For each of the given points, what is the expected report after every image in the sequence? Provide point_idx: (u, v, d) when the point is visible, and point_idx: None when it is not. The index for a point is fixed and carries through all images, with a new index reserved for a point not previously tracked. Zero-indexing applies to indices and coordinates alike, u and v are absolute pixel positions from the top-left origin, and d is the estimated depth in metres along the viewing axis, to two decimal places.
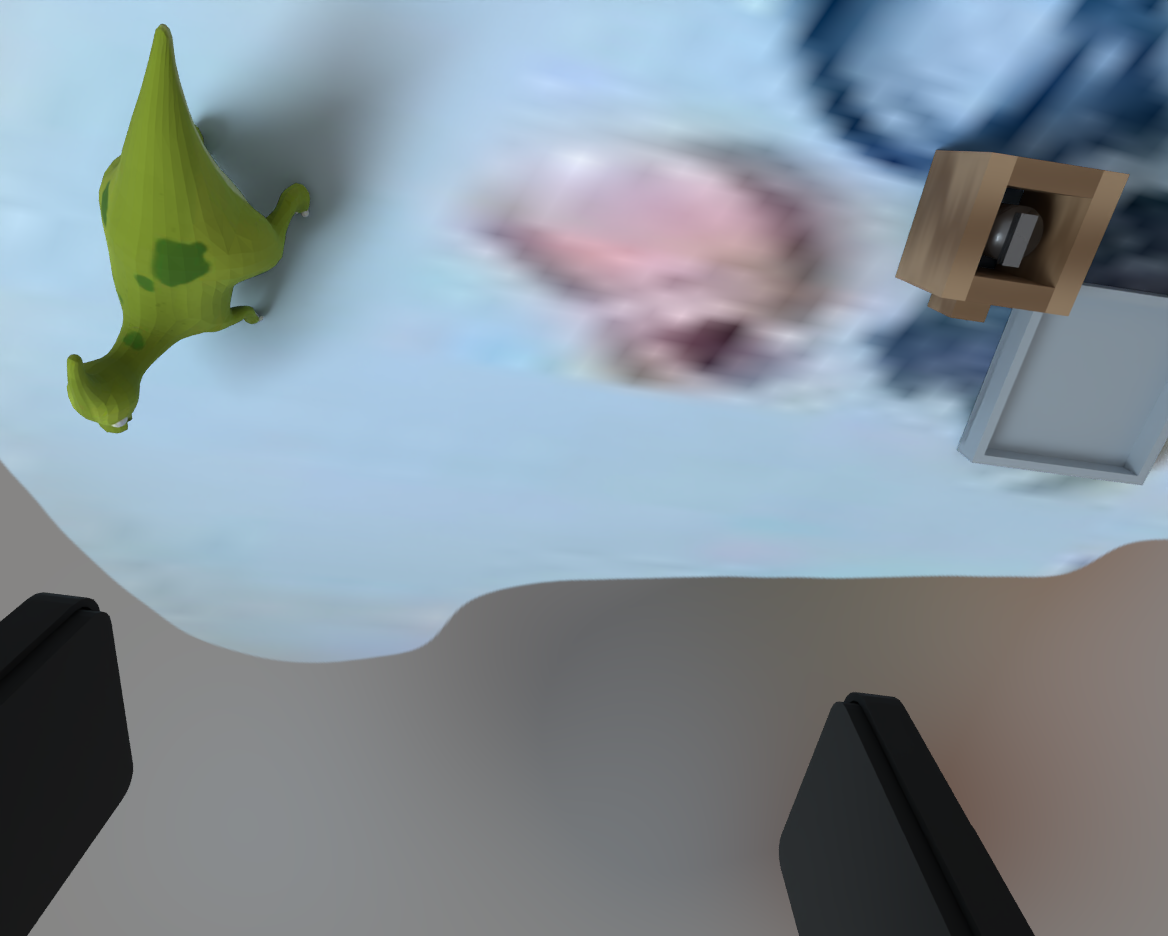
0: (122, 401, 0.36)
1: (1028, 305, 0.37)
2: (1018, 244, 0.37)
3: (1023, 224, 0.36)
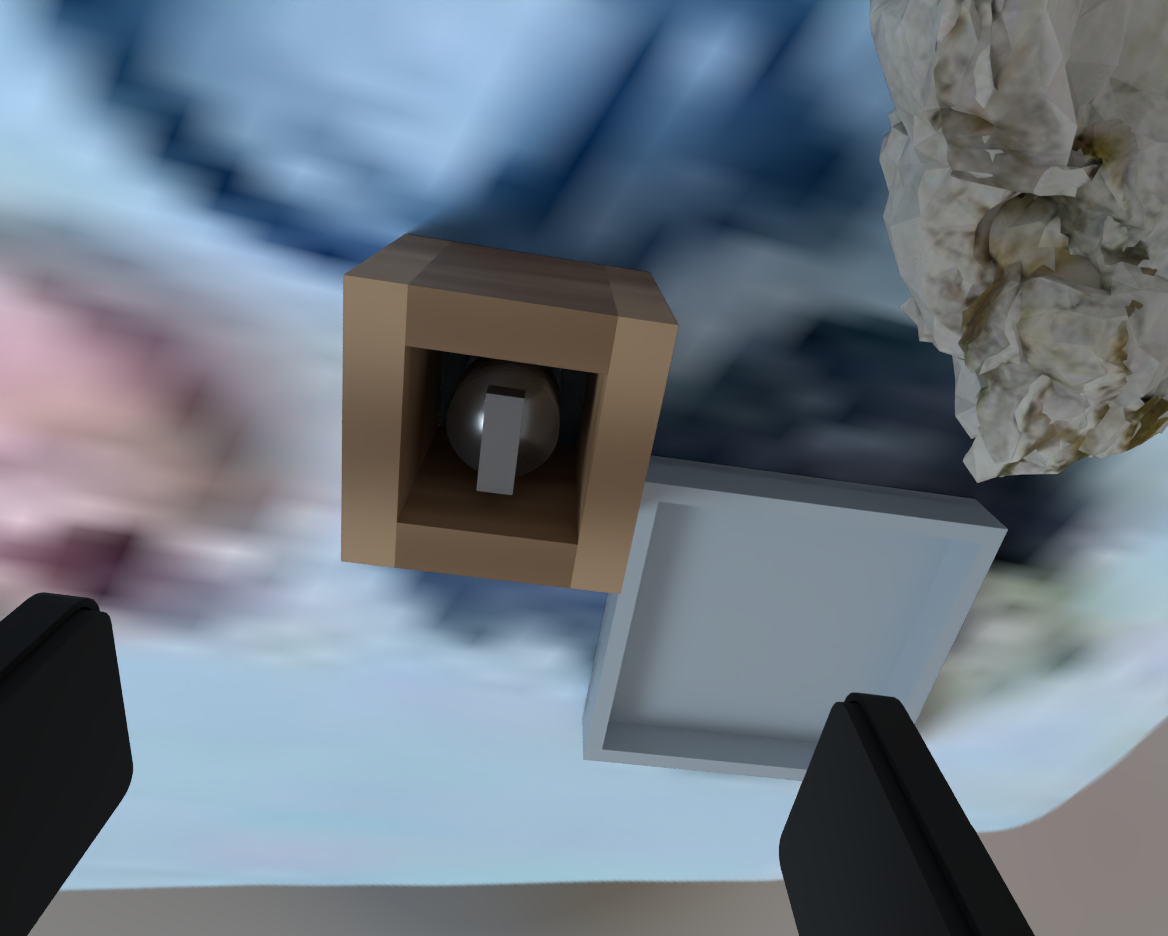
0: None
1: (531, 575, 0.18)
2: (497, 452, 0.17)
3: (497, 414, 0.17)
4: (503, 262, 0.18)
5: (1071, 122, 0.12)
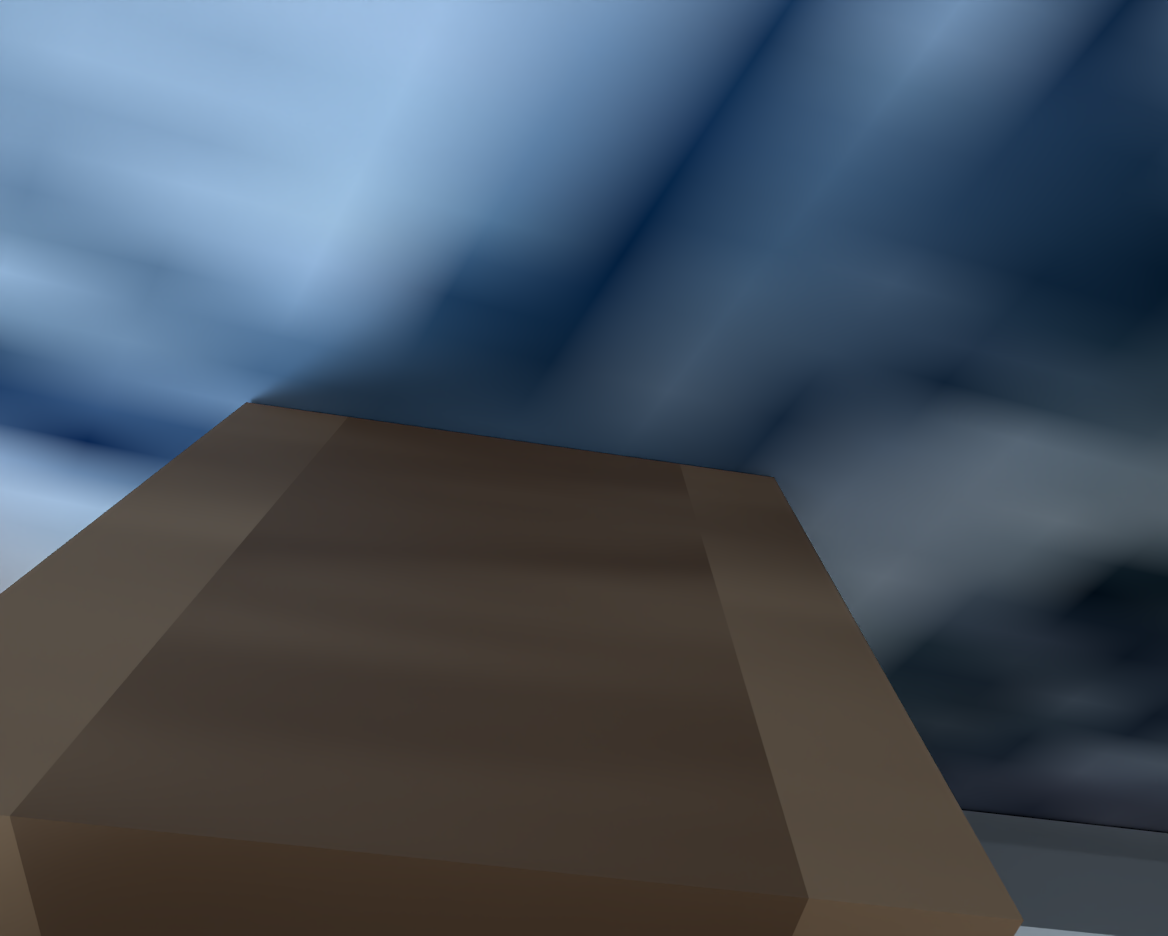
0: None
1: None
2: None
3: None
4: (448, 502, 0.08)
5: None
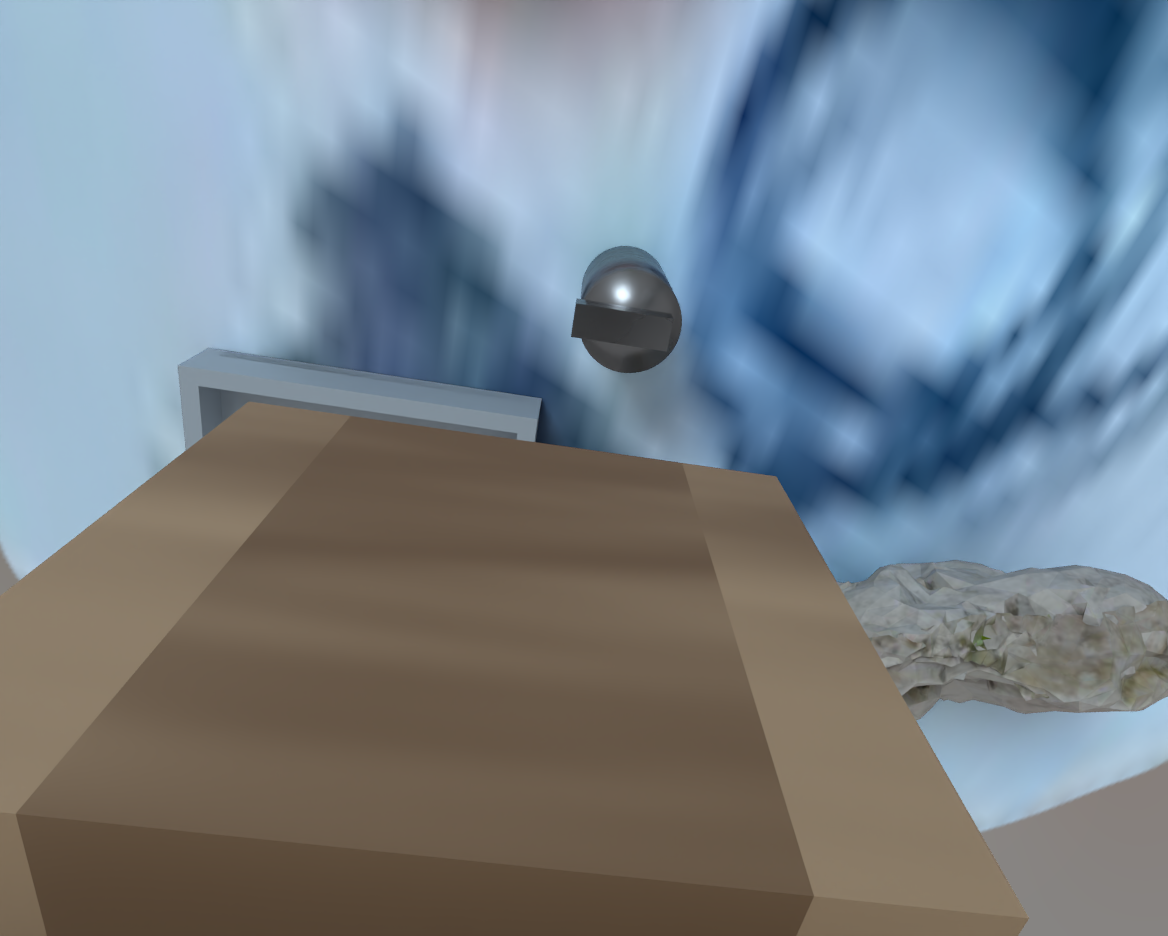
0: None
1: None
2: (615, 326, 0.19)
3: (652, 327, 0.19)
4: (451, 501, 0.08)
5: None
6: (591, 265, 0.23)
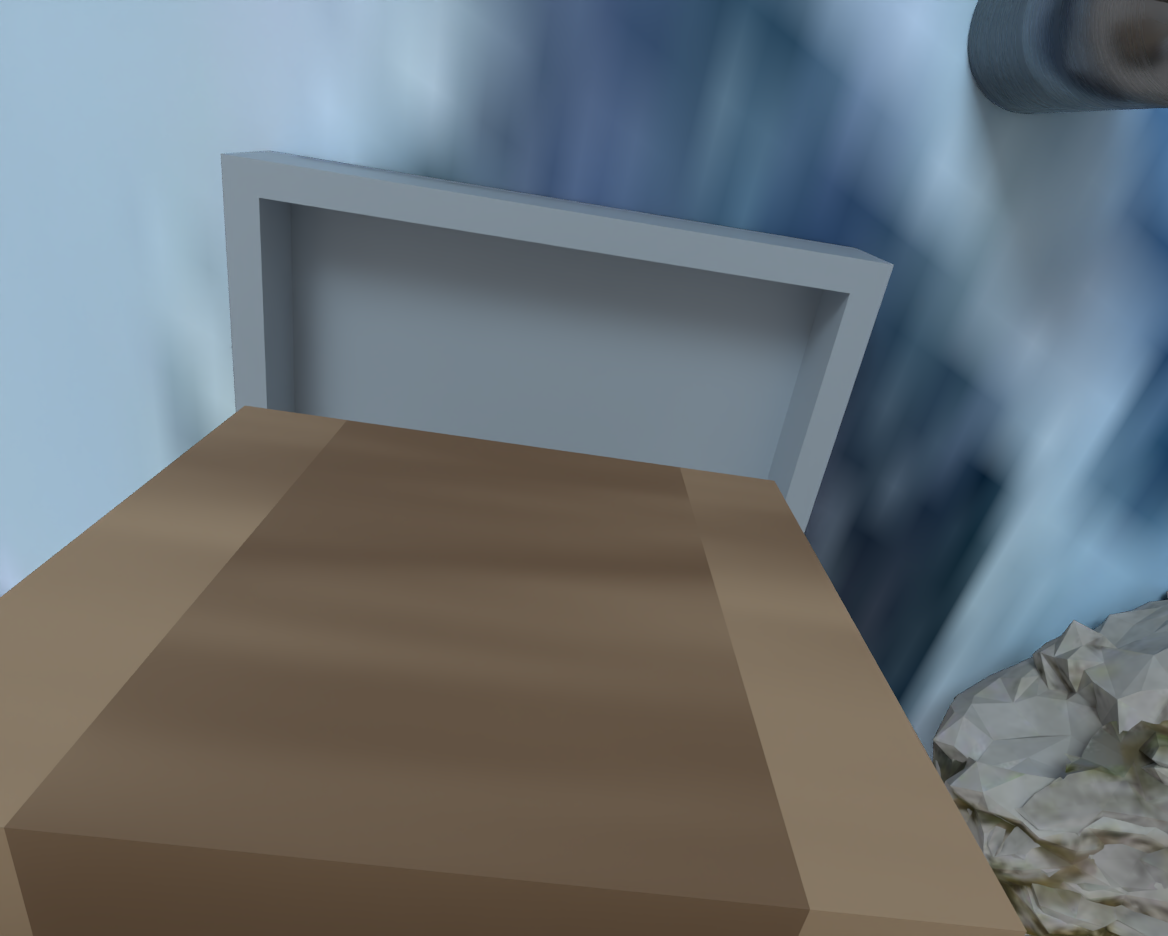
0: None
1: None
2: None
3: None
4: (447, 507, 0.08)
5: None
6: None
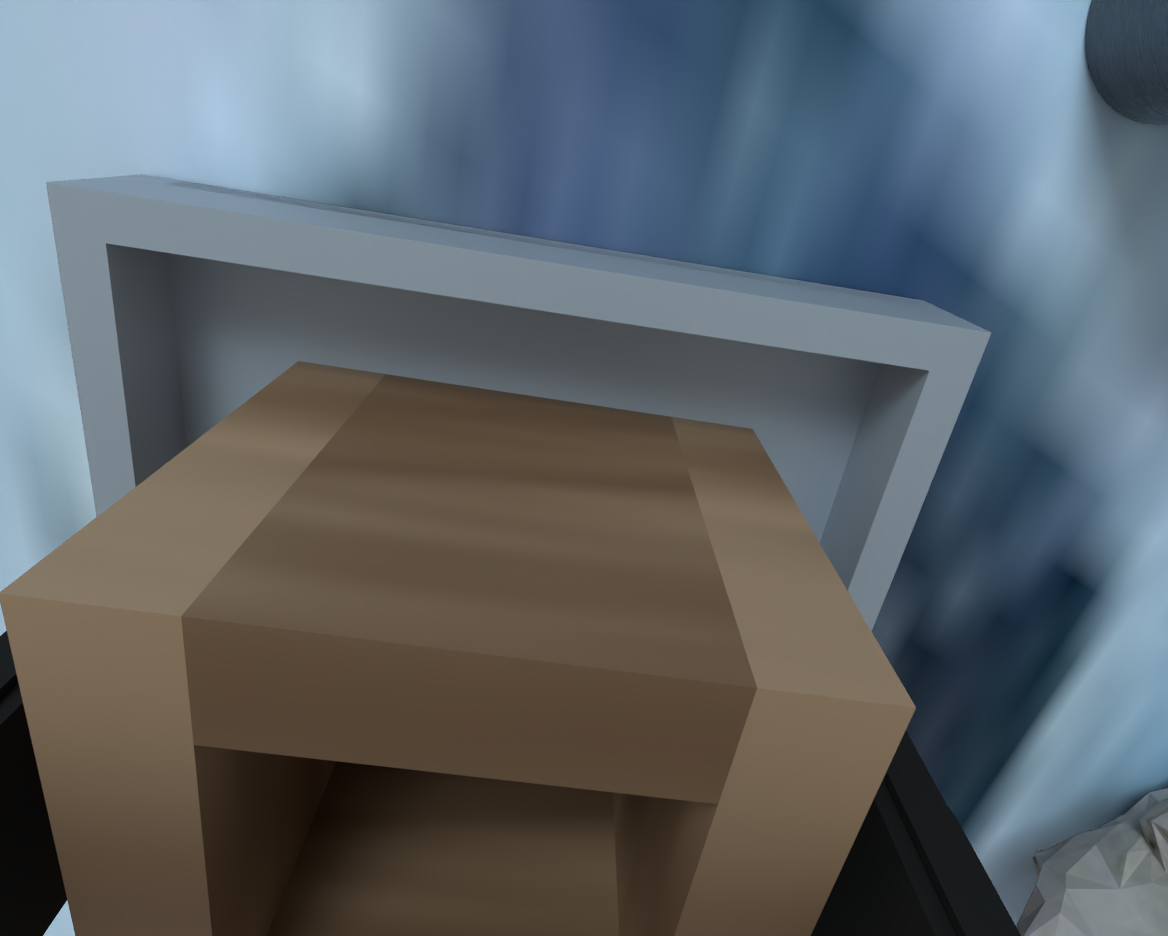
0: None
1: None
2: None
3: None
4: (475, 438, 0.09)
5: None
6: None
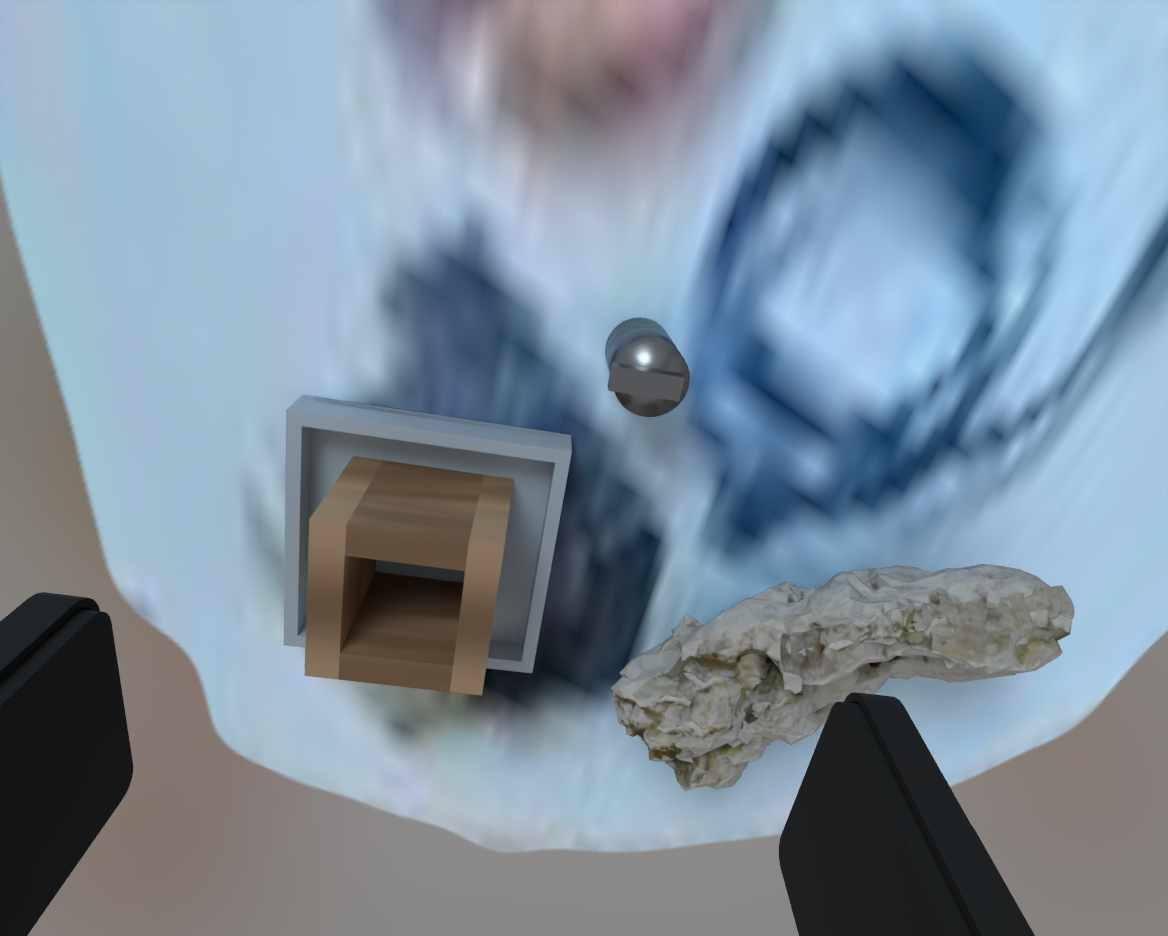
0: None
1: (425, 683, 0.28)
2: (642, 382, 0.25)
3: (669, 384, 0.25)
4: (413, 483, 0.29)
5: (826, 682, 0.27)
6: (614, 333, 0.29)
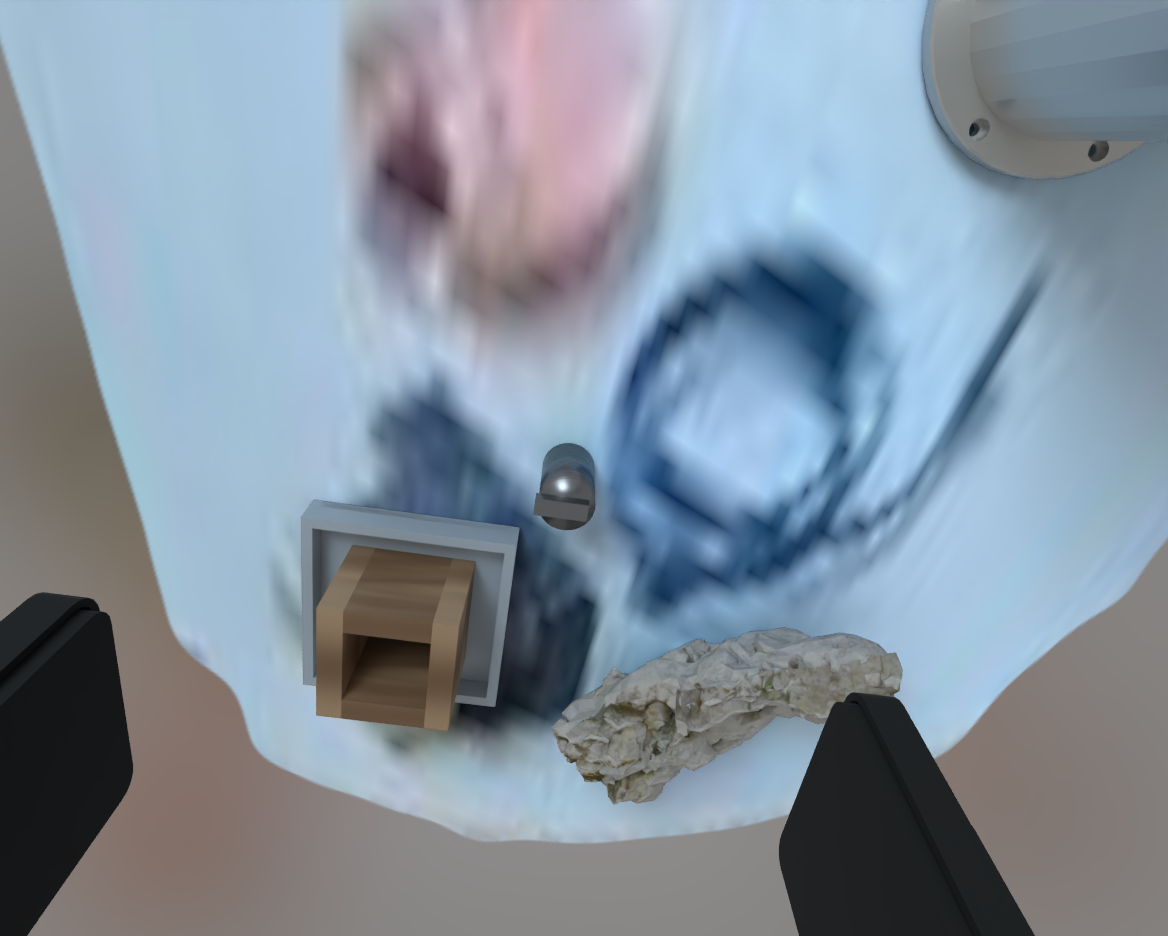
0: None
1: (405, 722, 0.38)
2: (557, 509, 0.34)
3: (577, 510, 0.34)
4: (396, 570, 0.39)
5: (702, 730, 0.36)
6: (547, 456, 0.38)
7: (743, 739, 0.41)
